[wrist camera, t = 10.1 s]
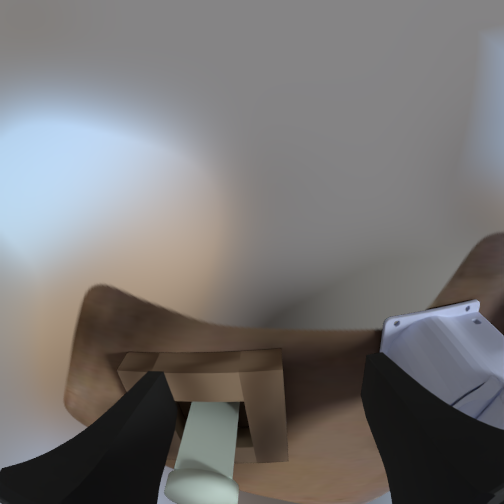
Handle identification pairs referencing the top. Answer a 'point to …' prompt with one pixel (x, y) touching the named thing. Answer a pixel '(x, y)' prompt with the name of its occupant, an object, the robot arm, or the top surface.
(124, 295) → the top surface
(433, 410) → the robot arm
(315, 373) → the top surface
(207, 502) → the green peg
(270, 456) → the walnut holder
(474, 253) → the top surface
